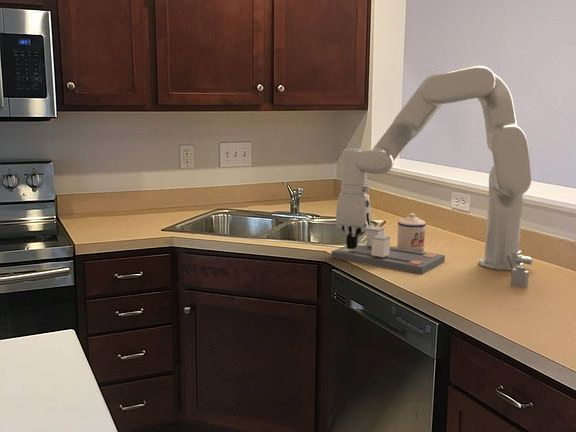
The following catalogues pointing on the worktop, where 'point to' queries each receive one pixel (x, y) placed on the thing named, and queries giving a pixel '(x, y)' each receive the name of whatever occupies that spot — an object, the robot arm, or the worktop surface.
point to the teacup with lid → (411, 233)
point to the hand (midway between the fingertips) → (351, 248)
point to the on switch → (373, 234)
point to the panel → (391, 258)
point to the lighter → (516, 273)
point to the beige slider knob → (380, 245)
